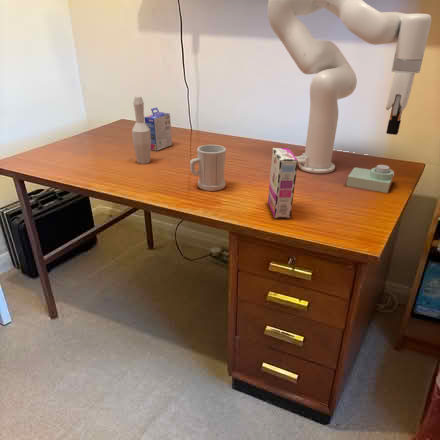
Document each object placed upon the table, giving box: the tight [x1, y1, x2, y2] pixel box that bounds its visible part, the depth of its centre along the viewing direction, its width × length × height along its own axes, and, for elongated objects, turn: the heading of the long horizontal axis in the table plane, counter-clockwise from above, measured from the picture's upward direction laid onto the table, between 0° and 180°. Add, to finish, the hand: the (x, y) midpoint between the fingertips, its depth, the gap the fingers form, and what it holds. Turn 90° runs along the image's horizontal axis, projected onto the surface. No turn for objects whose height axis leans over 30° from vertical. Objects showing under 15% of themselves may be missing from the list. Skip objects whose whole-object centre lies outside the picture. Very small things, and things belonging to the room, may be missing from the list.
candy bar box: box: [267, 147, 299, 219], centre depth 120 cm, size 11×5×16 cm, turn 5°
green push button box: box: [345, 166, 395, 194], centre depth 141 cm, size 13×10×5 cm
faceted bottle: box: [131, 95, 152, 165], centre depth 153 cm, size 6×6×22 cm
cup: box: [189, 144, 227, 192], centre depth 136 cm, size 10×9×12 cm
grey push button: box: [375, 164, 391, 173], centre depth 139 cm, size 4×4×2 cm
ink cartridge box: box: [144, 107, 173, 152], centre depth 170 cm, size 10×6×14 cm, turn 148°
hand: (392, 133), depth 132 cm, fingers closed
